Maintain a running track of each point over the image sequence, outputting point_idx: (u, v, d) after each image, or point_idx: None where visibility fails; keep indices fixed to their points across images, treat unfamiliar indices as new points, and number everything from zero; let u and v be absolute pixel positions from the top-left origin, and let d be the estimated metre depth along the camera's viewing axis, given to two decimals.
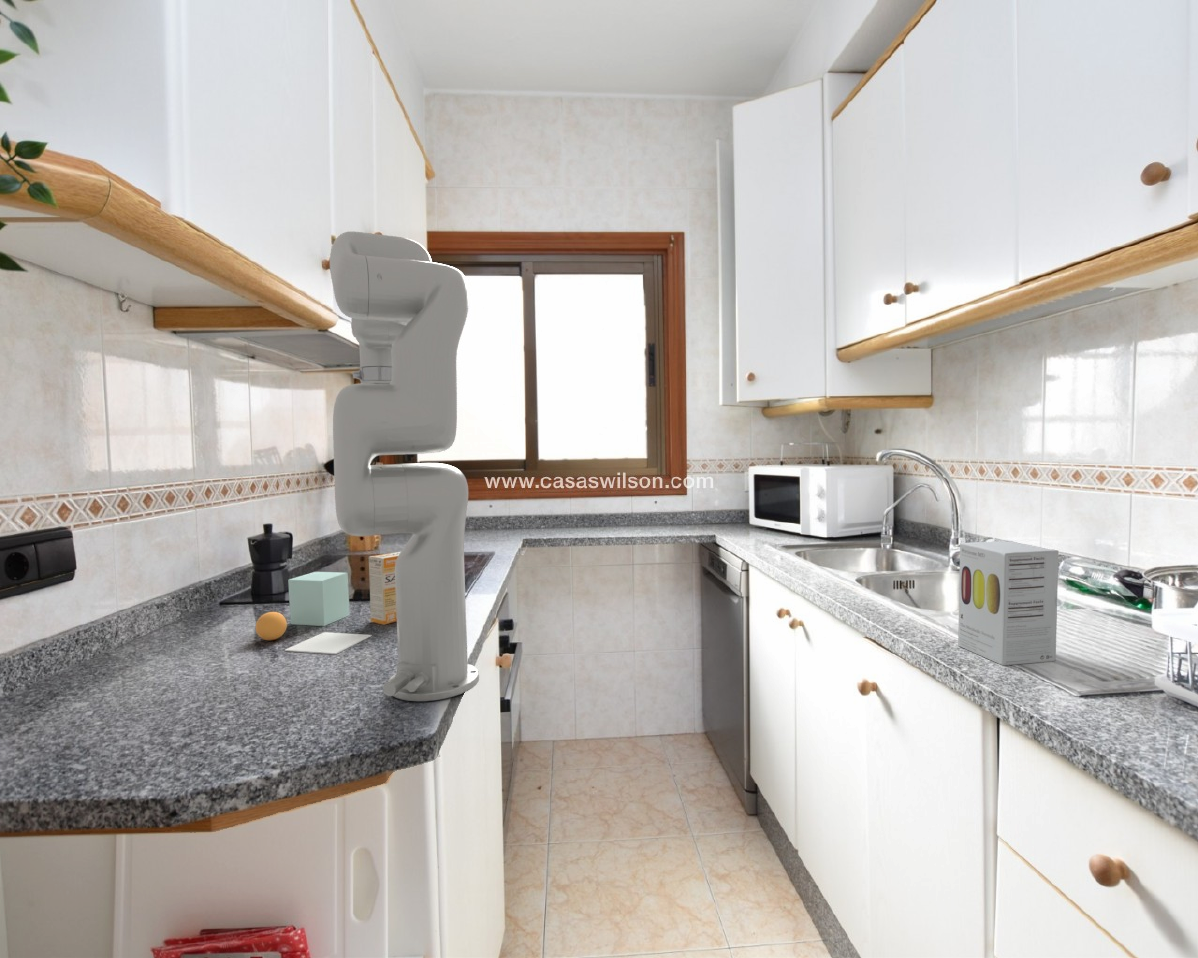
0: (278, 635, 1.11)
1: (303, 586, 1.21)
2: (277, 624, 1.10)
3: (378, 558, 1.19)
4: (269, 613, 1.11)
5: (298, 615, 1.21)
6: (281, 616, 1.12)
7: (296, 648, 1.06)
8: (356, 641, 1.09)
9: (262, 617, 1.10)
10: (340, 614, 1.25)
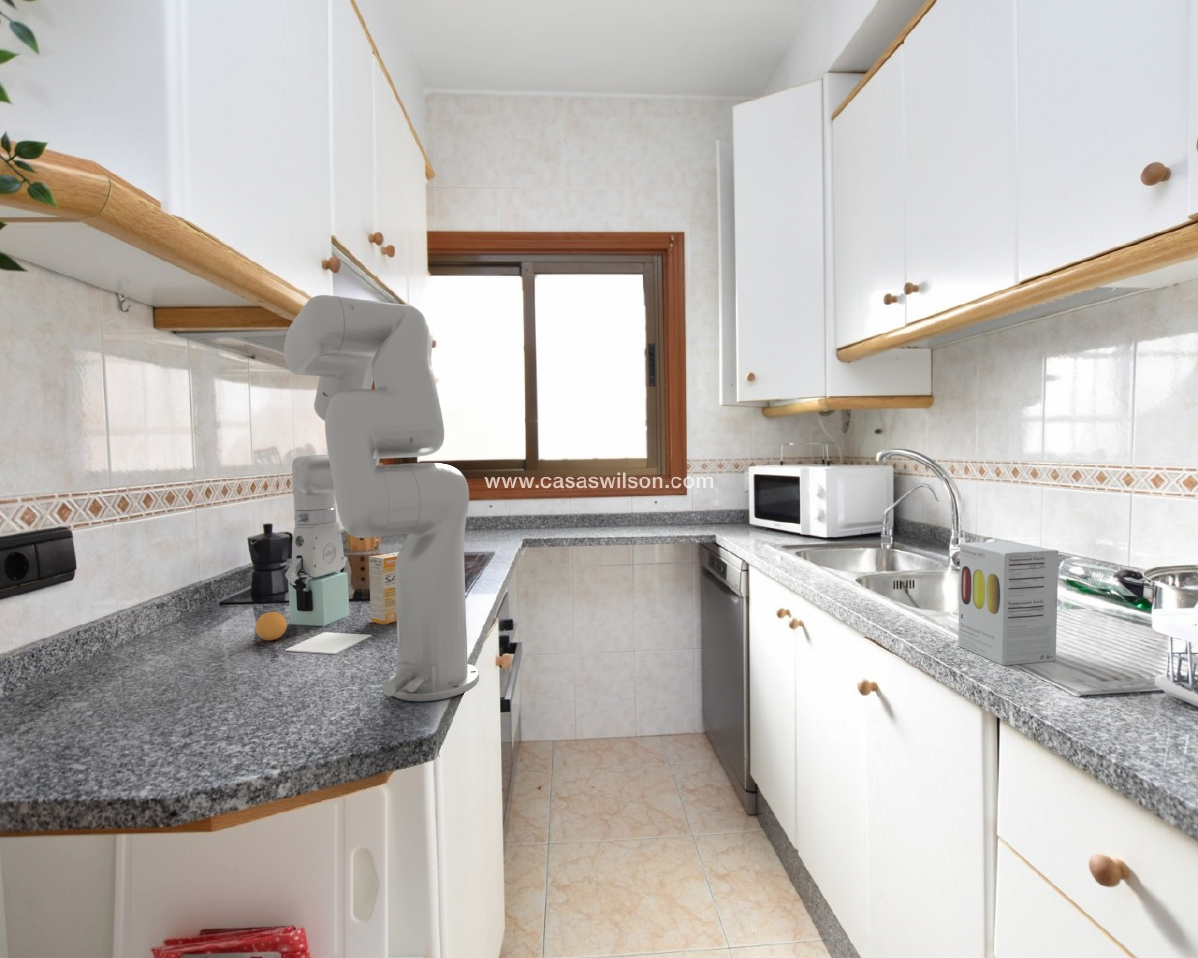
0: (278, 635, 1.11)
1: None
2: (277, 624, 1.10)
3: (378, 558, 1.19)
4: (269, 613, 1.11)
5: (298, 614, 1.21)
6: (281, 616, 1.12)
7: (296, 648, 1.06)
8: (356, 641, 1.09)
9: (262, 617, 1.10)
10: (340, 614, 1.25)
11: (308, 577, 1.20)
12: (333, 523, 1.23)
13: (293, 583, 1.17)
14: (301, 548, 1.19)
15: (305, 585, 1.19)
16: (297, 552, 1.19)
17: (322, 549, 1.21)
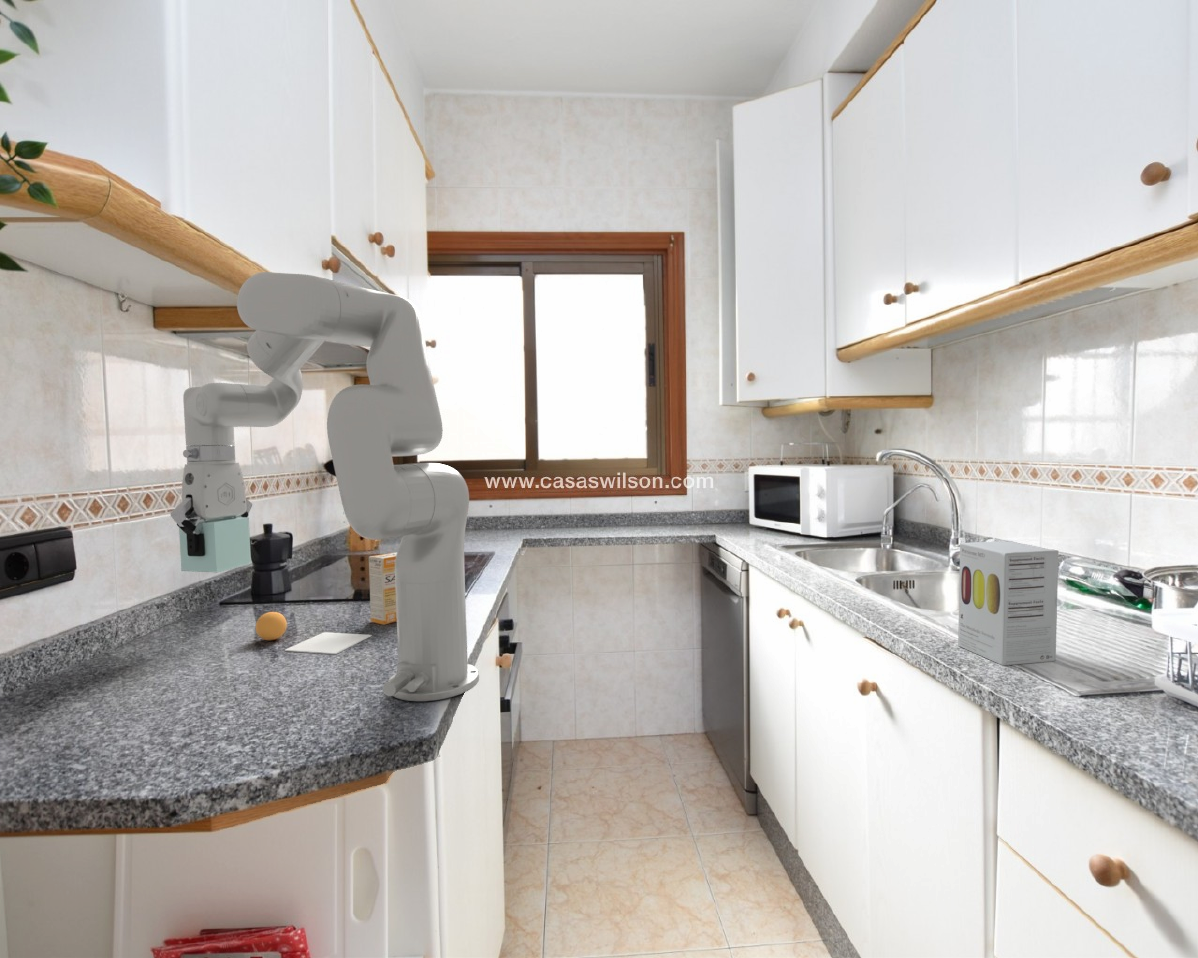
0: (278, 635, 1.11)
1: None
2: (277, 624, 1.10)
3: (378, 558, 1.19)
4: (269, 613, 1.11)
5: (189, 560, 1.11)
6: (281, 616, 1.12)
7: (296, 648, 1.06)
8: (356, 641, 1.09)
9: (262, 617, 1.10)
10: (239, 562, 1.14)
11: (199, 519, 1.09)
12: (230, 461, 1.12)
13: (180, 524, 1.07)
14: (191, 486, 1.08)
15: (195, 527, 1.08)
16: (187, 491, 1.08)
17: (216, 489, 1.11)
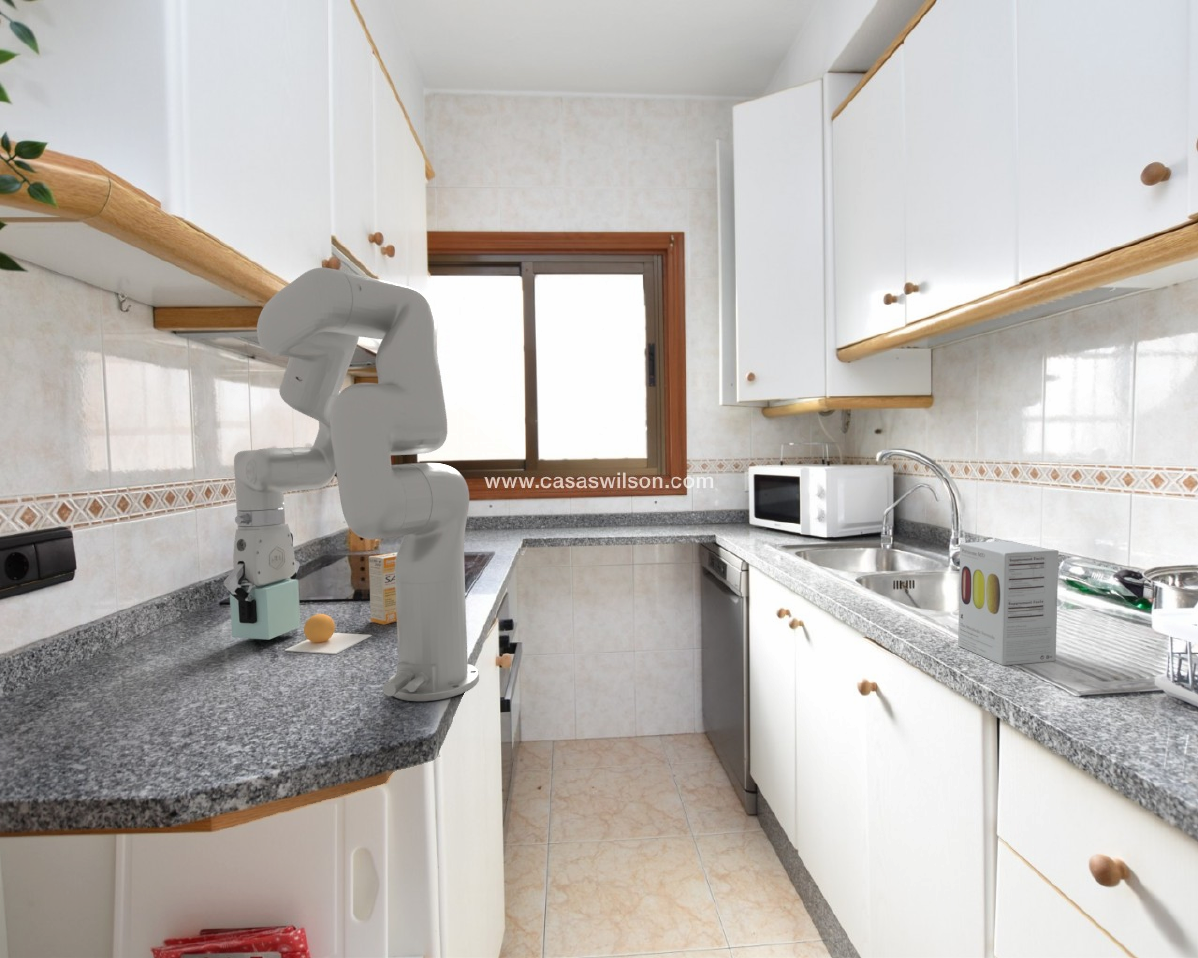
0: (315, 615, 1.09)
1: None
2: None
3: (378, 558, 1.19)
4: None
5: (240, 627, 1.09)
6: None
7: (296, 648, 1.06)
8: (356, 641, 1.09)
9: None
10: (289, 626, 1.12)
11: (251, 585, 1.07)
12: (281, 525, 1.11)
13: (233, 592, 1.05)
14: (243, 553, 1.06)
15: (247, 595, 1.06)
16: (239, 557, 1.07)
17: (268, 554, 1.09)
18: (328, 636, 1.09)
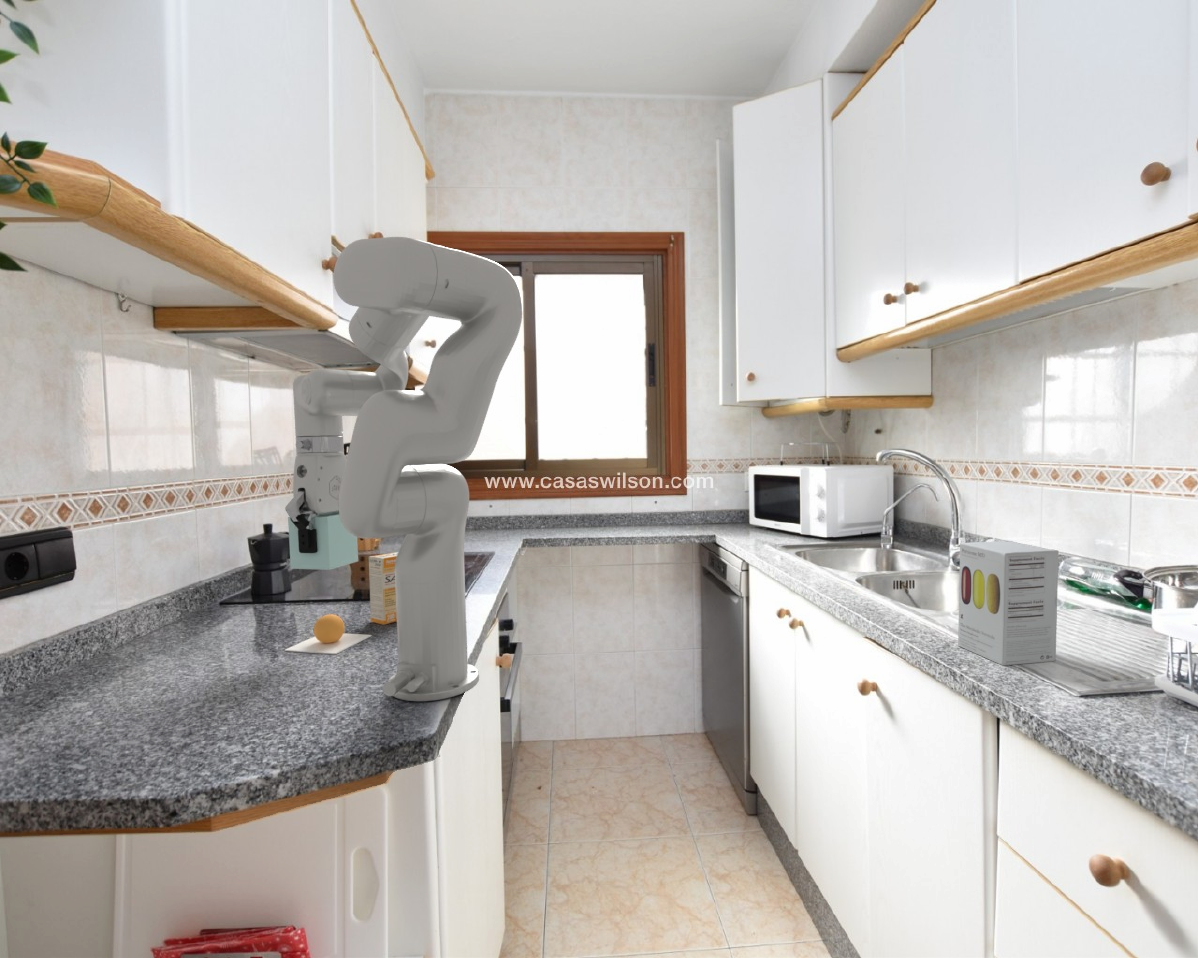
0: (333, 619, 1.08)
1: None
2: (321, 618, 1.08)
3: (378, 558, 1.19)
4: None
5: (299, 557, 1.05)
6: None
7: (296, 648, 1.06)
8: (356, 641, 1.09)
9: (314, 633, 1.08)
10: (348, 559, 1.08)
11: (312, 513, 1.03)
12: (340, 453, 1.07)
13: (294, 519, 1.01)
14: (304, 479, 1.02)
15: (308, 523, 1.02)
16: (299, 484, 1.03)
17: (328, 482, 1.05)
18: None
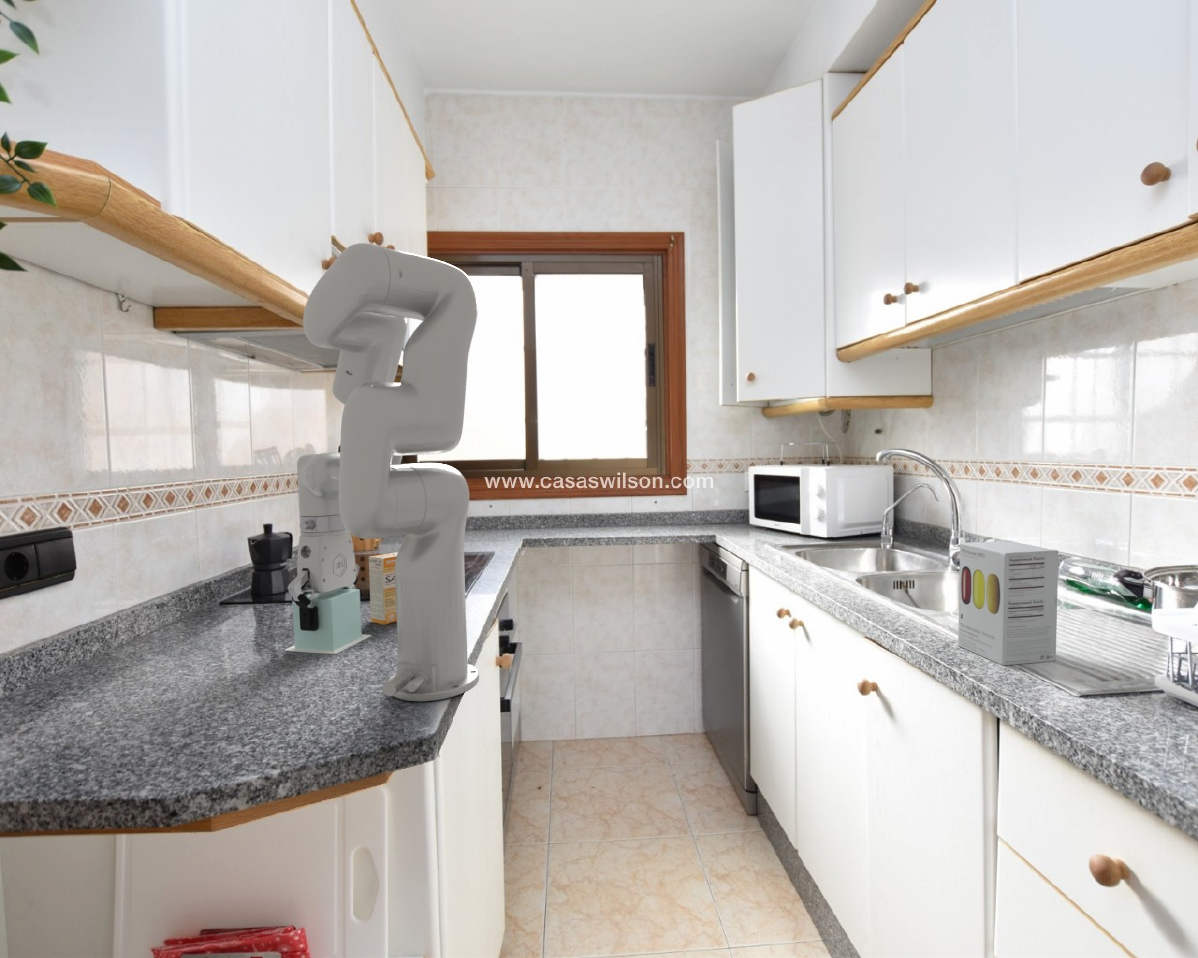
0: None
1: None
2: None
3: (378, 558, 1.19)
4: None
5: (303, 638, 1.06)
6: None
7: (296, 648, 1.06)
8: (356, 641, 1.09)
9: None
10: (352, 637, 1.09)
11: (314, 592, 1.04)
12: (344, 531, 1.07)
13: (296, 598, 1.01)
14: (308, 560, 1.03)
15: (310, 601, 1.03)
16: (303, 564, 1.03)
17: (332, 561, 1.06)
18: None
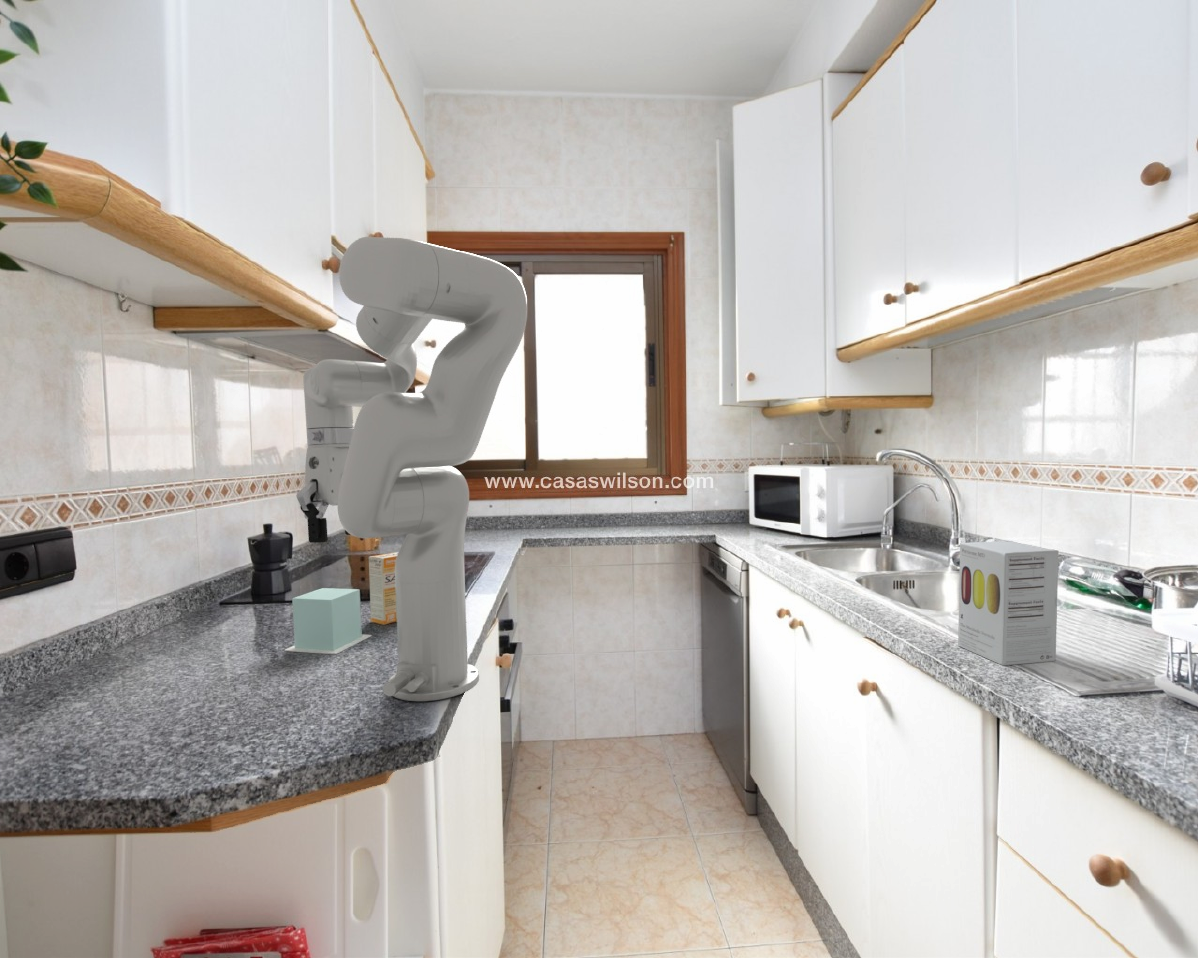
0: None
1: (309, 606, 1.05)
2: None
3: (378, 558, 1.19)
4: None
5: (303, 638, 1.06)
6: None
7: (296, 648, 1.06)
8: (356, 641, 1.09)
9: None
10: (352, 637, 1.09)
11: (323, 503, 1.03)
12: None
13: (304, 507, 1.00)
14: (316, 470, 1.03)
15: (318, 511, 1.02)
16: (311, 475, 1.03)
17: (340, 473, 1.05)
18: None
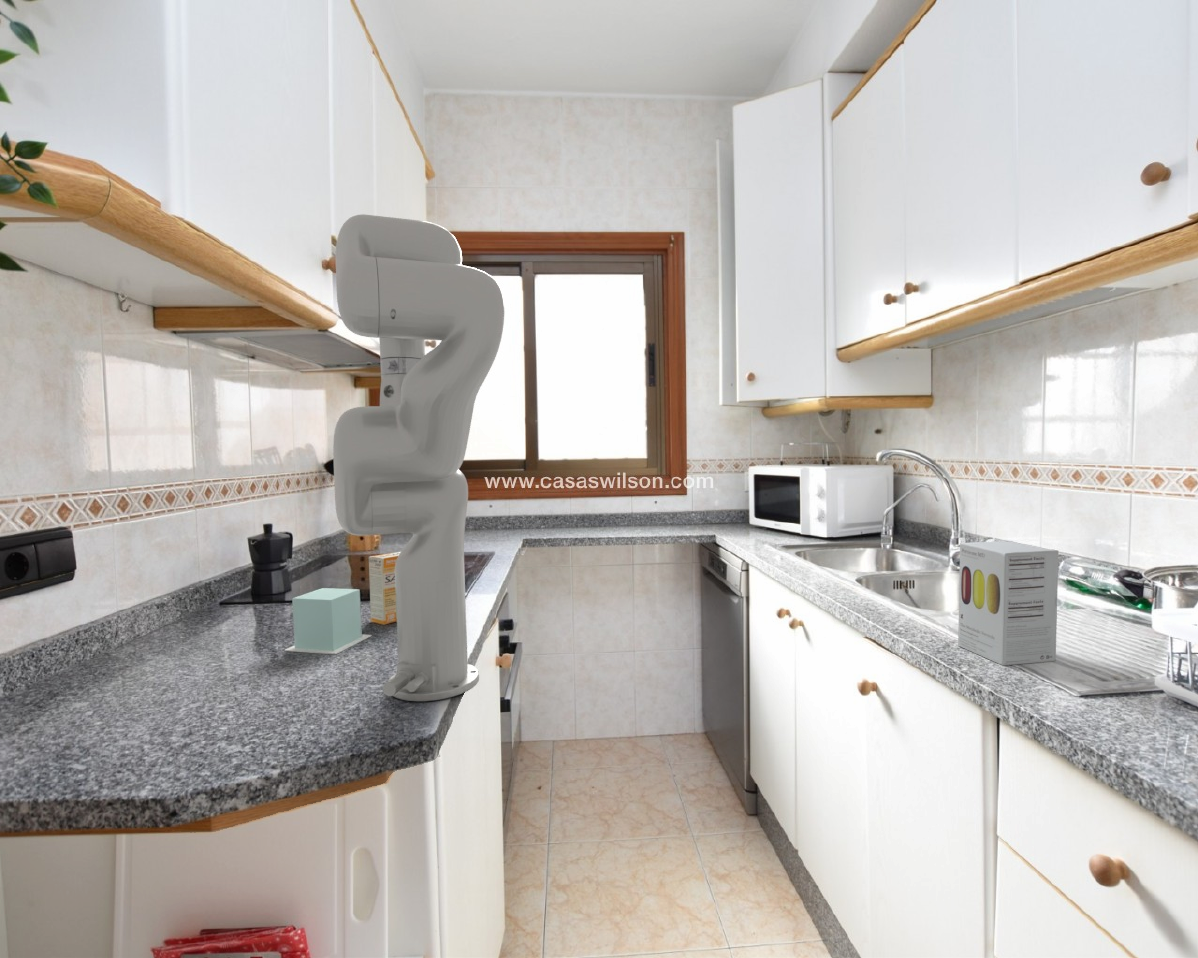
0: None
1: (309, 606, 1.05)
2: None
3: (378, 558, 1.19)
4: None
5: (303, 638, 1.06)
6: None
7: (296, 648, 1.06)
8: (356, 641, 1.09)
9: None
10: (352, 637, 1.09)
11: None
12: None
13: None
14: (391, 399, 1.04)
15: None
16: (386, 404, 1.05)
17: None
18: None
